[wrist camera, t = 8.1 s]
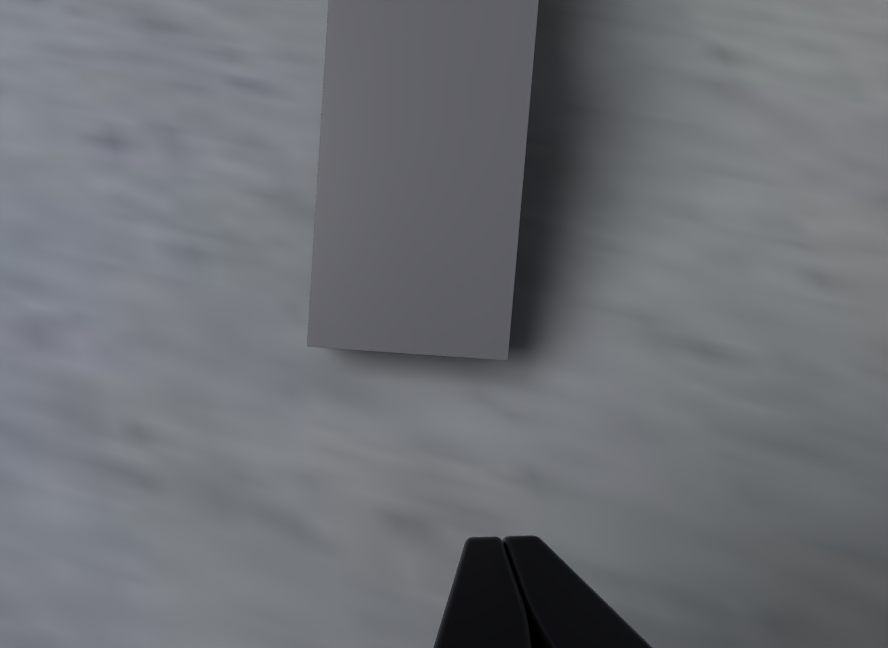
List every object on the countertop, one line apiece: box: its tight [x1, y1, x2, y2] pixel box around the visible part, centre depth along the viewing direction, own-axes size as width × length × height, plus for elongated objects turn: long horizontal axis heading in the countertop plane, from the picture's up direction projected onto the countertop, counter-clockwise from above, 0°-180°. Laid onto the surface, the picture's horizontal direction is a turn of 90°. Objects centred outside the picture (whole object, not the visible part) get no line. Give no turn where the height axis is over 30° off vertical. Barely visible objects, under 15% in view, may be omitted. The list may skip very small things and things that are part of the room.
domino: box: [307, 0, 539, 360], centre depth 19 cm, size 2×5×10 cm
